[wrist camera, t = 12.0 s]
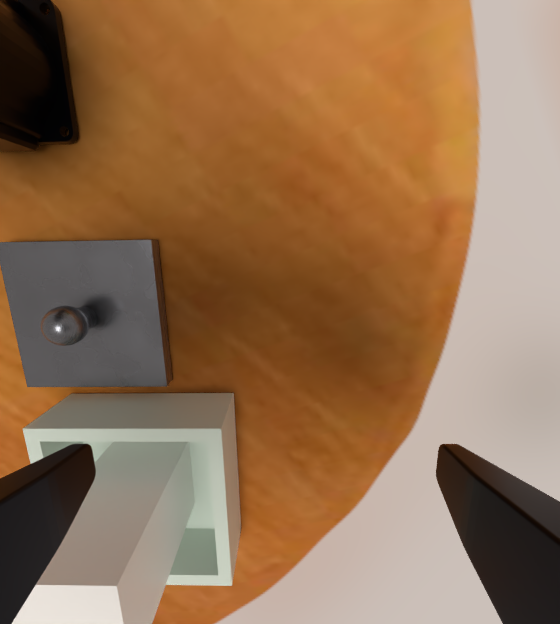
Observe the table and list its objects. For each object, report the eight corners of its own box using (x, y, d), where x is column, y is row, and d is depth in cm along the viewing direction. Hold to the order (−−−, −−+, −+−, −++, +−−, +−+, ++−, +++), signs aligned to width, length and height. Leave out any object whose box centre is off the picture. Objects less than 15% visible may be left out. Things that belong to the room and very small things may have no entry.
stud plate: (10, 242, 19) (-57, 243, 15) (158, 239, 19) (126, 240, 15) (39, 380, 21) (-14, 410, 17) (172, 379, 21) (147, 410, 17)
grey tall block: (124, 502, 22) (17, 674, 13) (114, 439, 21) (-10, 584, 12) (194, 502, 22) (132, 677, 13) (188, 439, 21) (116, 585, 12)
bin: (71, 393, 21) (22, 428, 17) (233, 393, 21) (221, 428, 17) (96, 526, 24) (58, 583, 20) (241, 527, 23) (231, 585, 20)
